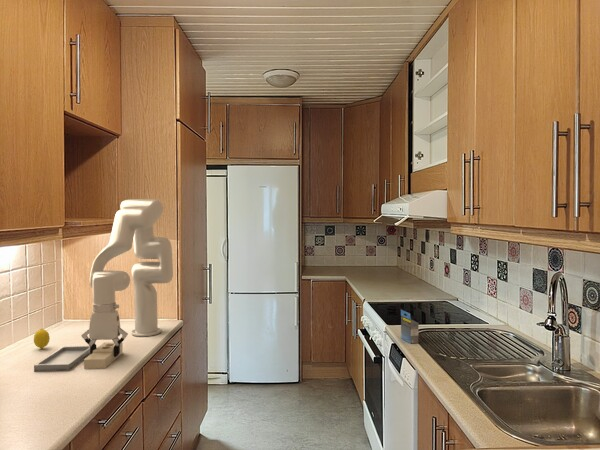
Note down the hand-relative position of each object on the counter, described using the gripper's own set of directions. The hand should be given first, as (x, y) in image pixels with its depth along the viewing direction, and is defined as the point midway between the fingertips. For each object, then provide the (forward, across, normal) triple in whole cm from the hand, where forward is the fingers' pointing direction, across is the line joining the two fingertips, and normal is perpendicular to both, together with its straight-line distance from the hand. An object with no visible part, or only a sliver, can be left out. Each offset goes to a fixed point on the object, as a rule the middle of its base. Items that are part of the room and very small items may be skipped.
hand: (105, 355), depth 182 cm
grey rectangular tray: (+1, +14, 0) cm, 14 cm away
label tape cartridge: (+2, -117, -18) cm, 118 cm away
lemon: (+2, +30, -16) cm, 34 cm away
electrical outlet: (+2, 0, +1) cm, 2 cm away
